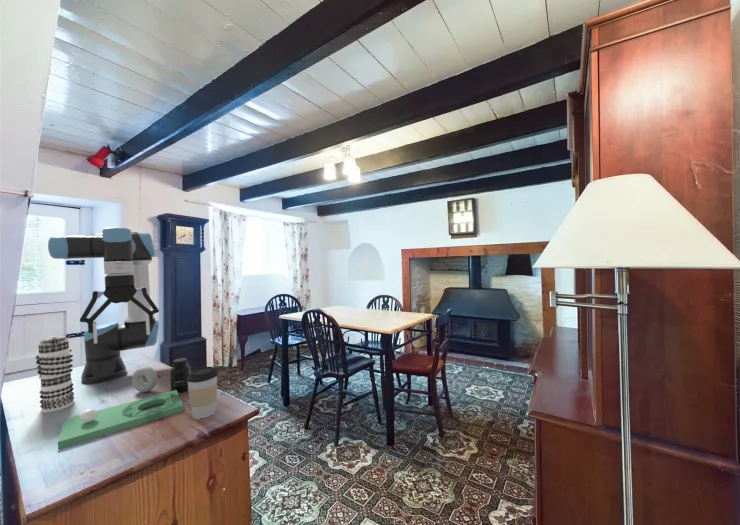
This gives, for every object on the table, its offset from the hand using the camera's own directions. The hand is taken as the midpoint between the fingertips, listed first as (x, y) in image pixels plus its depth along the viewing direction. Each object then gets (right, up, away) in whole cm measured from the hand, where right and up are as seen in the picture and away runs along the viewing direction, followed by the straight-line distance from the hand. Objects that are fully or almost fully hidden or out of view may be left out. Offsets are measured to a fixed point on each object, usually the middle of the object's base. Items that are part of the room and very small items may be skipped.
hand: (123, 338), depth 102 cm
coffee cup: (+27, -25, 0) cm, 37 cm away
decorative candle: (-30, -27, +8) cm, 41 cm away
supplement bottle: (+8, -25, +19) cm, 32 cm away
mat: (+2, -26, -1) cm, 26 cm away
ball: (-5, -22, -7) cm, 24 cm away
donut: (-6, -26, +18) cm, 32 cm away
